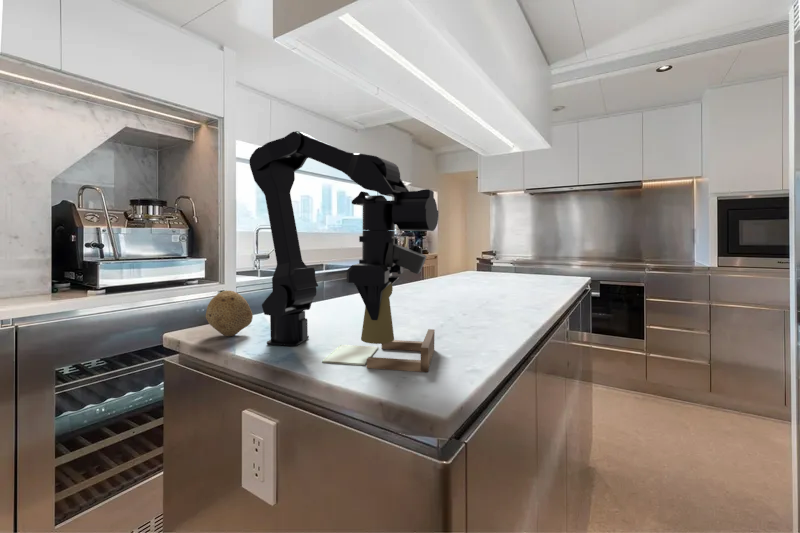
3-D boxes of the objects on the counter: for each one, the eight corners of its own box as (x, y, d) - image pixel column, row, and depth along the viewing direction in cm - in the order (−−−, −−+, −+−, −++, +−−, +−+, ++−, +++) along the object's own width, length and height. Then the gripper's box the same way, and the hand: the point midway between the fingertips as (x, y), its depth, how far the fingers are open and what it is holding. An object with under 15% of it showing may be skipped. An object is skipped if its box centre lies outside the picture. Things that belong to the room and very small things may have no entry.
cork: (379, 345, 65) (380, 281, 64) (353, 339, 68) (354, 279, 68) (400, 338, 70) (401, 278, 69) (375, 333, 73) (376, 276, 72)
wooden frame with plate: (319, 364, 65) (319, 341, 64) (342, 344, 77) (342, 325, 76) (427, 372, 61) (428, 347, 61) (434, 349, 74) (434, 329, 73)
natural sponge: (196, 337, 82) (195, 291, 81) (233, 328, 89) (232, 286, 88) (222, 343, 77) (221, 294, 76) (259, 334, 85) (258, 289, 84)
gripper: (417, 230, 57) (415, 332, 58) (428, 231, 75) (427, 309, 76) (345, 229, 59) (345, 328, 60) (374, 231, 77) (373, 307, 78)
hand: (377, 317), depth 69 cm, fingers closed on cork, 4 cm apart
